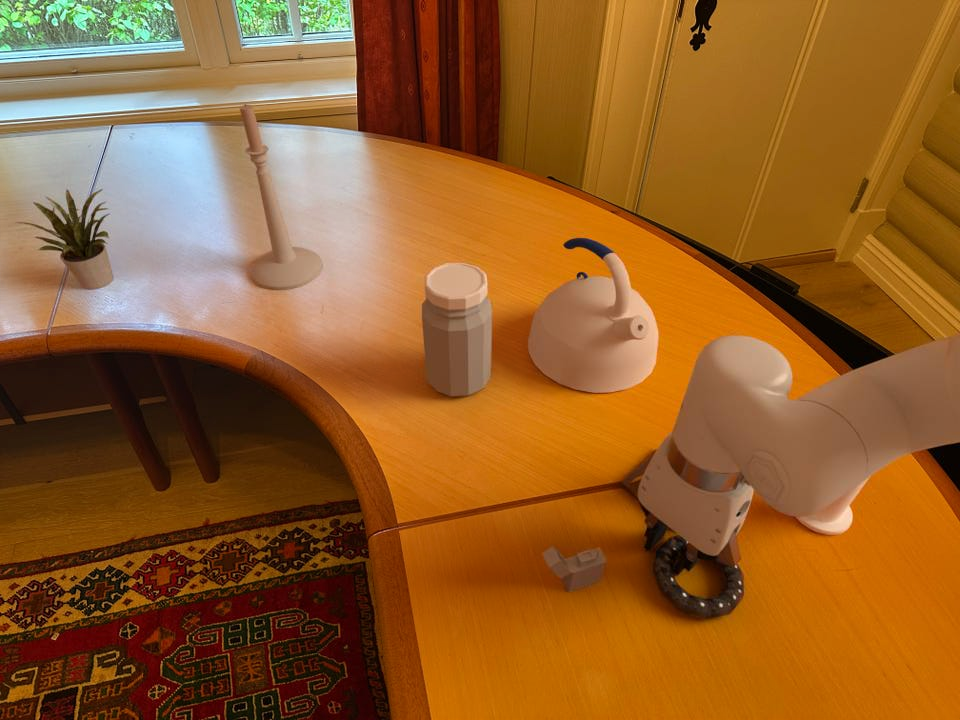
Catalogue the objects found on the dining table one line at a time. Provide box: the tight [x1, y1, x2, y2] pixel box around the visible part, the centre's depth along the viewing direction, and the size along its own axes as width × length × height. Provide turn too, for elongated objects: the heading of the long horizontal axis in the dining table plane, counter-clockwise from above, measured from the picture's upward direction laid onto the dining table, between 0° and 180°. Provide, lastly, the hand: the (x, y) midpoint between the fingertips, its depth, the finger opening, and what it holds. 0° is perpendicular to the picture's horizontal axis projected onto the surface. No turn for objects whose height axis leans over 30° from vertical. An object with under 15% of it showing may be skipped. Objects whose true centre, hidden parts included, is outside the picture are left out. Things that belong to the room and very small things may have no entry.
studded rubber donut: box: [652, 534, 745, 620], centre depth 67 cm, size 10×10×2 cm
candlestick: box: [239, 103, 324, 291], centre depth 102 cm, size 13×13×30 cm
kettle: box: [527, 237, 659, 394], centre depth 90 cm, size 20×21×18 cm
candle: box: [795, 476, 871, 536], centre depth 66 cm, size 7×7×25 cm
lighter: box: [541, 545, 607, 593], centre depth 64 cm, size 7×2×8 cm, turn 109°
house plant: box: [16, 188, 115, 290], centre depth 104 cm, size 14×14×16 cm
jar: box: [421, 262, 493, 398], centre depth 85 cm, size 10×10×18 cm
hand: (668, 553), depth 69 cm, fingers open, 3 cm apart
